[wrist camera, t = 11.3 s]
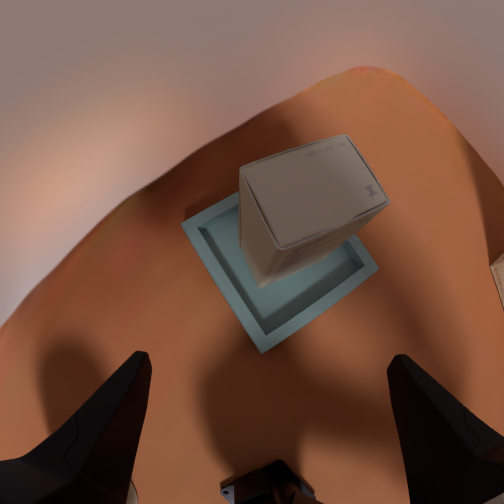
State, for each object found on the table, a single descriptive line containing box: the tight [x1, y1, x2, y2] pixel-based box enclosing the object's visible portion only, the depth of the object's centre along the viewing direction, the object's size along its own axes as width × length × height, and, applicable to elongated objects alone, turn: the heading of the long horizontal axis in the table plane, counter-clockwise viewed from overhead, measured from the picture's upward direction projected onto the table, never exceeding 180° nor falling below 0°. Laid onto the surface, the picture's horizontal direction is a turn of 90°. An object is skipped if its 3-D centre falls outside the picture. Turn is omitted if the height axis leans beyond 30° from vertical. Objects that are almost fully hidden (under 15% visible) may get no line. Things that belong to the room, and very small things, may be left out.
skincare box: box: [238, 134, 390, 288], centre depth 18 cm, size 6×4×12 cm
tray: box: [181, 191, 379, 354], centre depth 23 cm, size 12×12×2 cm
